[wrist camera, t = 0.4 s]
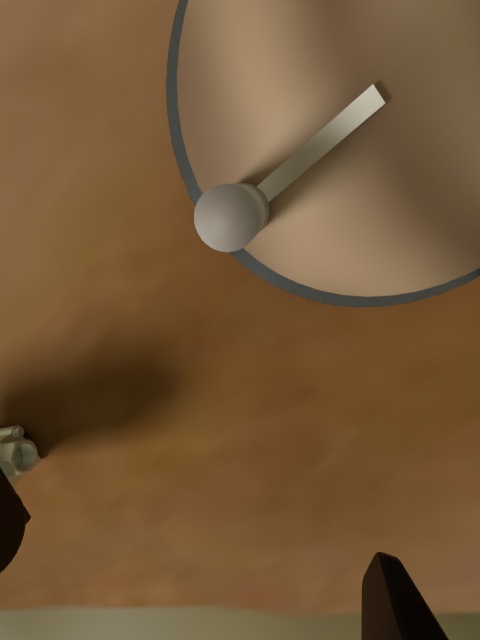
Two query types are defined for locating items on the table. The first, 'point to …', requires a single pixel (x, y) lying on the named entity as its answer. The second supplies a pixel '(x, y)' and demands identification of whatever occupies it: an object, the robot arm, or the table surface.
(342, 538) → the table surface
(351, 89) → the dial
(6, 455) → the pneumatic valve
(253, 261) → the dial housing
